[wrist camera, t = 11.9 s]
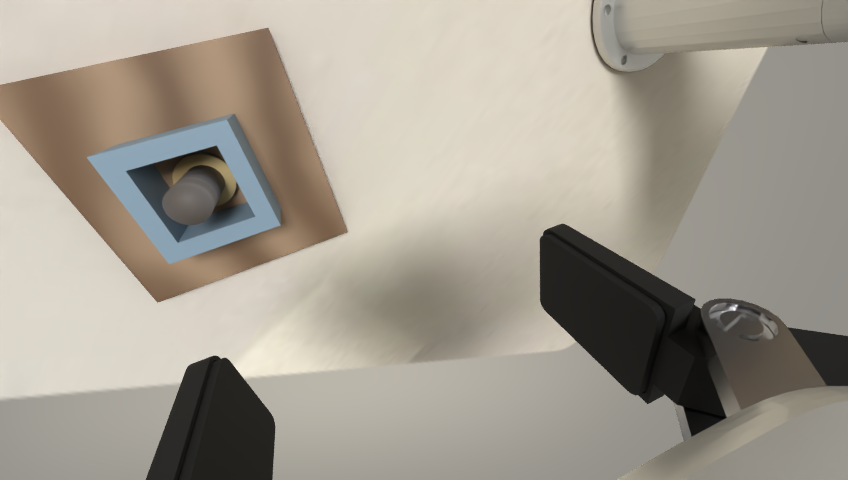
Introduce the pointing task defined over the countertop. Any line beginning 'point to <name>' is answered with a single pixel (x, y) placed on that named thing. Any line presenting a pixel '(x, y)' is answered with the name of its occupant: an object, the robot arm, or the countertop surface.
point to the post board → (187, 174)
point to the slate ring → (145, 187)
